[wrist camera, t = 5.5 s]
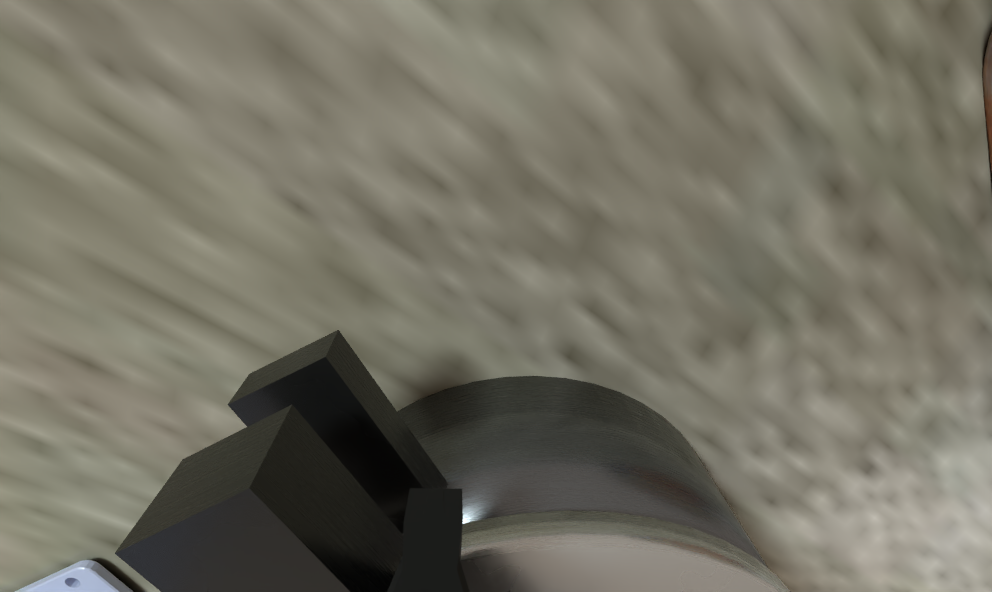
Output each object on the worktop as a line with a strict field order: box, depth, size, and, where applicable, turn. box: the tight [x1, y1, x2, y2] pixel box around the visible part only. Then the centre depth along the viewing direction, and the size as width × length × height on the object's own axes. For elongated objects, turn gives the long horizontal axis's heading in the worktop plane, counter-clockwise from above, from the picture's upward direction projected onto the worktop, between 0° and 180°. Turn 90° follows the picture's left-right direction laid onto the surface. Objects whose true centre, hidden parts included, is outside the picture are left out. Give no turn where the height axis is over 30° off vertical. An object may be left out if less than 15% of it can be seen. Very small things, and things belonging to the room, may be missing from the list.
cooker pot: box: [228, 330, 768, 568], centre depth 17 cm, size 16×21×6 cm
